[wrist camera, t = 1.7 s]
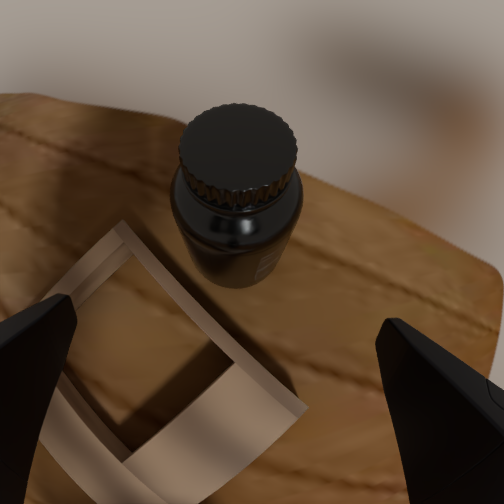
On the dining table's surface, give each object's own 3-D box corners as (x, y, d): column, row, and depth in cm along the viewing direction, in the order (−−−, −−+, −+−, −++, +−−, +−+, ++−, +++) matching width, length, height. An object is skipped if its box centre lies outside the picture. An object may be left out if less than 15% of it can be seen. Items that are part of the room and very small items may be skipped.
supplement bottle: (265, 198, 24) (293, 82, 12) (290, 277, 22) (353, 199, 10) (182, 216, 23) (149, 102, 11) (199, 300, 21) (165, 239, 9)
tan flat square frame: (147, 524, 14) (140, 538, 12) (8, 362, 17) (-9, 361, 15) (299, 401, 19) (308, 407, 16) (132, 232, 22) (122, 219, 19)
